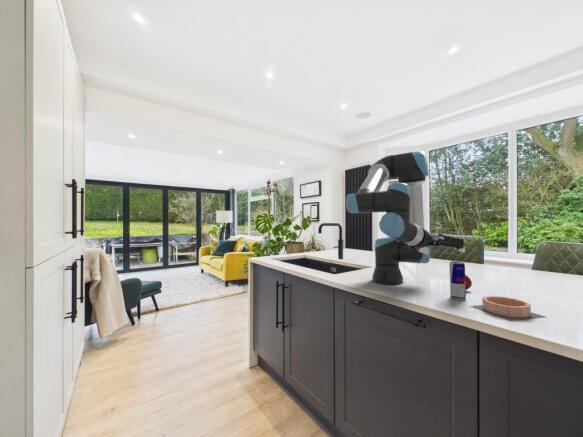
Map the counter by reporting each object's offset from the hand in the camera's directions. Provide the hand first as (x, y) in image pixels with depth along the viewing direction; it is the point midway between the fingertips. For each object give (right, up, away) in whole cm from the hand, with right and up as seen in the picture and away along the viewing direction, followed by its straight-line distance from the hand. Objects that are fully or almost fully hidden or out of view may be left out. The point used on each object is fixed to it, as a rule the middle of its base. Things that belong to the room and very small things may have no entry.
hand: (444, 250), depth 100 cm
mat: (+11, -19, -15) cm, 27 cm away
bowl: (+11, -18, -15) cm, 26 cm away
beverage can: (+5, -20, 0) cm, 20 cm away
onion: (+16, -20, +12) cm, 28 cm away
